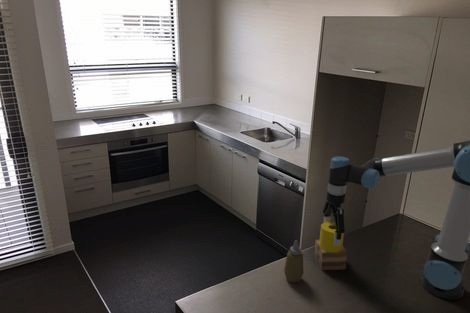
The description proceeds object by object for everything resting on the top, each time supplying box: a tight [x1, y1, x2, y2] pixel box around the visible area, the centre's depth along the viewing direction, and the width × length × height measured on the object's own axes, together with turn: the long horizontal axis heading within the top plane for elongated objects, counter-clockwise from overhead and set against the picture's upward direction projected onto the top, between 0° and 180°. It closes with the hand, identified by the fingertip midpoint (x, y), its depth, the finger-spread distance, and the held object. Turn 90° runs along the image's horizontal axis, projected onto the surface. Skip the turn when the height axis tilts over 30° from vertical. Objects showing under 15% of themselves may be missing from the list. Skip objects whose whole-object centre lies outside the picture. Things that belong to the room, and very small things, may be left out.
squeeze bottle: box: [283, 240, 304, 284], centre depth 149 cm, size 8×8×18 cm
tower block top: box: [314, 239, 348, 262], centre depth 162 cm, size 11×11×4 cm
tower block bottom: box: [313, 249, 347, 271], centre depth 163 cm, size 11×11×4 cm
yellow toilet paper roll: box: [319, 221, 345, 252], centre depth 159 cm, size 10×10×9 cm
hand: (331, 237), depth 160 cm, fingers open, 13 cm apart
